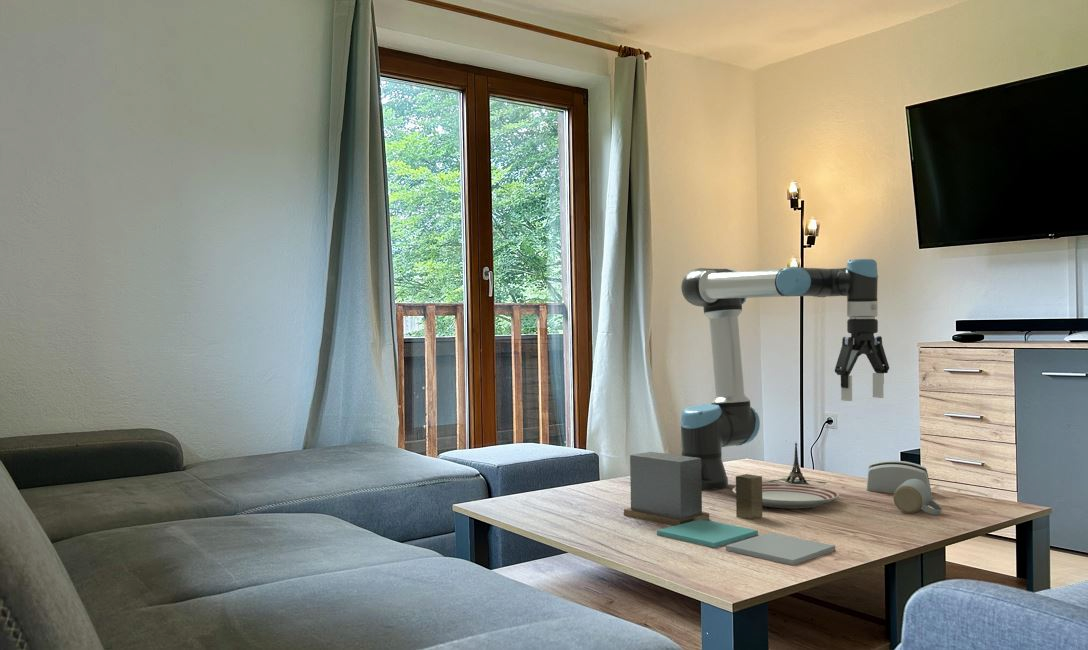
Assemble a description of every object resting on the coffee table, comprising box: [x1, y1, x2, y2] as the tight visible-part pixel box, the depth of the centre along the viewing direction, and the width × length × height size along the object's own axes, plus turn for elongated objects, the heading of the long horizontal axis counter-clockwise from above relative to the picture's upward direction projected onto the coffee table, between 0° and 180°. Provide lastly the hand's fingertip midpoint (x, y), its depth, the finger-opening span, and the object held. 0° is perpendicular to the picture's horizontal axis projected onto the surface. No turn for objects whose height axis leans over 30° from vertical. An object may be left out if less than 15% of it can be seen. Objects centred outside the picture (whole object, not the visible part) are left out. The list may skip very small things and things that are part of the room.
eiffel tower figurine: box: [767, 442, 828, 485], centre depth 258 cm, size 15×10×13 cm
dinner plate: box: [732, 482, 840, 509], centre depth 230 cm, size 27×27×3 cm
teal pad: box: [656, 519, 759, 548], centre depth 195 cm, size 16×16×1 cm
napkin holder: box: [865, 460, 932, 494], centre depth 240 cm, size 17×5×10 cm, turn 63°
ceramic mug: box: [892, 479, 943, 516], centre depth 215 cm, size 11×8×8 cm
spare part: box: [735, 473, 763, 520], centre depth 212 cm, size 4×4×10 cm
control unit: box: [623, 451, 710, 526], centre depth 213 cm, size 18×11×15 cm, turn 42°
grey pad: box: [725, 532, 836, 566], centre depth 180 cm, size 16×16×1 cm
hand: (862, 399), depth 226 cm, fingers open, 13 cm apart
